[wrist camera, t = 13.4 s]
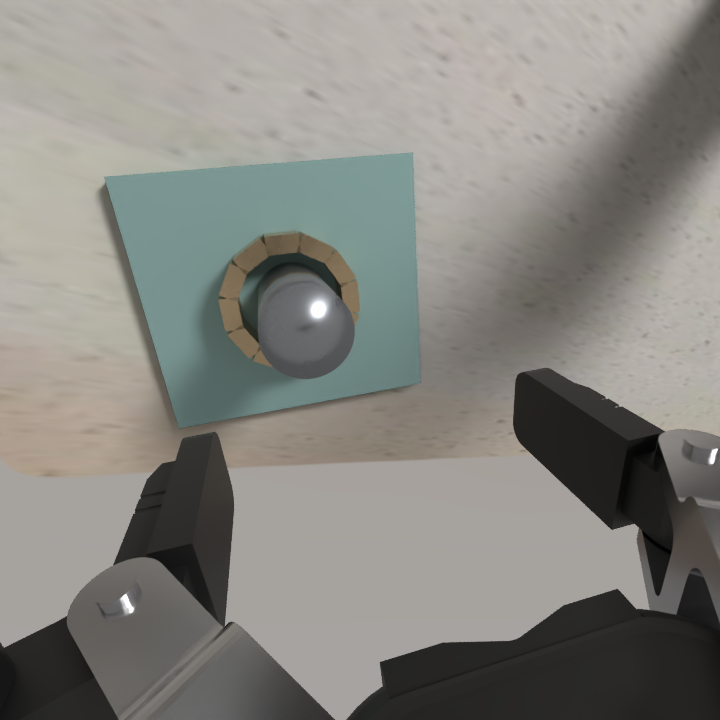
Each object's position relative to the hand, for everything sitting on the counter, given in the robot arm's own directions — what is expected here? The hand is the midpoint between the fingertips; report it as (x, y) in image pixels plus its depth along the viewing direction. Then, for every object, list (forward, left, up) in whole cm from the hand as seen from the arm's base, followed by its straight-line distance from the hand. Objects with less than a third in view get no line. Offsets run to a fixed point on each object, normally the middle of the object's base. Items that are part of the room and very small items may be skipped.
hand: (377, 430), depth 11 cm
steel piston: (+1, +1, -21) cm, 21 cm away
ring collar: (+1, +1, -22) cm, 22 cm away
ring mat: (+1, +1, -22) cm, 22 cm away
